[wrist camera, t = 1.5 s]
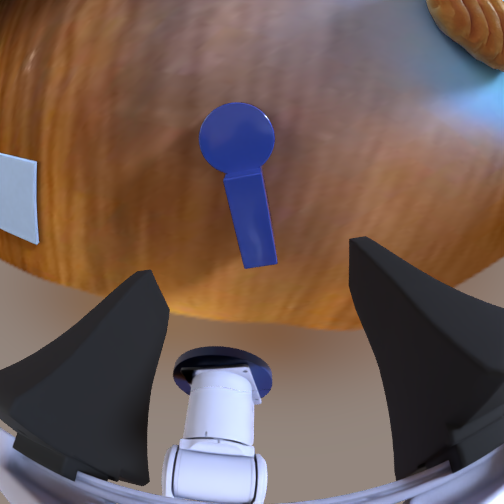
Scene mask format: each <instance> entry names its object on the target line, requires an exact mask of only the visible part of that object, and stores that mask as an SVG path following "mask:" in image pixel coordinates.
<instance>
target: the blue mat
mask: <svg viewBox="0 0 504 504" xmlns="http://www.w3.org/2000/svg"><path fill="white" fill-rule="evenodd" d="M36 172H37V162H36V161H32V160H28V159H24V158H19V157H15V156H11V155H6V154H2V153H0V229H2V230H4V231H7V232H9V233H11V234H13V235H15V236H18V237H20V238H22V239H24V240H27V241H29V242H31V243H34V244H36V245H37V244H38V243H39V236H38V224H37V203H36Z"/></svg>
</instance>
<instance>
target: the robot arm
mask: <svg viewBox="0 0 504 504" xmlns="http://www.w3.org/2000/svg"><path fill="white" fill-rule="evenodd" d="M349 288H350V292H351V295H352V299H353V302H354V305H355V309H356V311H357V314H358V316H359V318H360V321H361V323H362V326H363V328H364V330H365V333H366V335H367V338H368V340H369V342H370V345H371V347H372V350H373V352H374V355H375V357H376V360H377V363H378V366H379V369H380V374H381V378H382V381H383V386H384V391H385V395H386V400H387V406H388V411H389V417H390V423H391V431H392V439H393V451H394V469H395V476H396V481H395V482H392V483H389V484H385V485H382V486H379V487H375V488H372V489H368V490H364V491H360V492H355V493H351V494H346V495H341V496H336V497H330V498H324V499H318V500H310V501H302V502H291V503H278V504H395V503H398V502H401V501H404V500H405V502H404V503H403V504H504V308H501V307H498V306H495V305H492V304H490V303H486V302H484V301H482V300H479V299H477V298H474V297H472V296H469V295H467V294H465V293H462V292H460V291H458V290H456V289H454V288H452V287H450V286H448V285H446V284H444V283H442V282H440V281H438V280H436V279H434V278H433V277H431V276H429V275H427V274H426V273H424V272H422V271H421V270H419V269H417V268H416V267H414V266H412V265H411V264H409V263H407V262H406V261H404V260H403V259H401V258H400V257H398V256H396V255H395V254H393V253H392V252H390V251H389V250H387V249H386V248H384V247H383V246H381V245H379V244H378V243H376V242H375V241H373V240H371V239H370V238H368V237H366V236H365V237H358V238H352V239H349ZM169 311H170V309H169V307H168V305H167V303H166V301H165V299H164V297H163V295H162V293H161V291H160V289H159V286H158V284H157V282H156V280H155V278H154V276H153V273H152V271H151V270H144V271H137V272H136V273H134V274H133V275H132V276H130V277H129V278H128V279H126V280H125V281H124V282H123V283H122V284H121V285H119V286H118V287H117V288H116V289H115V290H114V291H113V292H111V293H110V294H109V295H108V296H107V297H106V298H105V299H104V300H103V301H102V302H101V303H99V304H98V305H97V306H96V307H95V308H94V309H92V310H91V311H90V312H89V313H88V314H87V315H86V316H84V317H83V318H82V319H81V320H80V321H79V322H78V323H76V324H75V325H74V326H73V327H71V328H70V329H69V330H68V331H66V332H65V333H63V334H62V335H61V336H60V337H58V338H57V339H55V340H54V341H52V342H51V343H49V344H48V345H46V346H45V347H43V348H42V349H40V350H39V351H37V352H36V353H34V354H32V355H30V356H28V357H27V358H25V359H23V360H21V361H19V362H17V363H15V364H13V365H11V366H9V367H6V368H4V369H2V370H0V419H1V420H2V421H3V422H4V423H6V424H7V425H8V426H10V427H11V428H12V429H13V430H15V431H16V432H18V433H17V436H16V438H15V437H14V436H12V435H11V434H10V433H8V432H6V431H5V430H3V429H2V428H0V491H1V492H2V493H3V494H4V496H5V497H6V498H7V500H8V501H9V502H10V504H116V503H118V504H225V503H226V504H263V502H264V498H265V495H266V489H267V466H266V462H265V460H264V459H263V458H262V457H261V455H260V454H254V447H253V446H252V444H253V441H254V405H255V404H261V398H260V395H259V393H258V390H257V387H256V384H255V382H254V379H253V376H252V373H251V371H250V368H249V366H248V365H247V364H239V365H226V366H209V367H183V368H181V370H180V372H181V373H182V375H183V376H184V378H185V379H186V381H187V382H188V384H189V385H190V386H191V391H190V397H189V403H188V410H187V415H186V422H185V428H184V435H183V439H180V444H179V445H173V446H172V447H170V448H169V449H168V450H167V451H166V455H165V458H164V463H163V470H162V490H163V491H162V496H161V495H156V494H151V493H146V492H142V491H138V490H134V489H131V488H127V487H123V486H120V485H116V484H113V483H110V482H107V480H108V479H110V480H113V481H116V482H117V481H118V480H120V481H124V482H128V483H132V484H136V485H140V486H144V485H146V484H147V483H149V482H150V480H149V471H148V460H147V426H148V412H149V403H150V395H151V389H152V383H153V379H154V376H155V372H156V368H157V365H158V361H159V358H160V354H161V350H162V347H163V343H164V340H165V336H166V332H167V326H168V319H169ZM183 498H184V499H190V500H184V499H183ZM191 500H197V501H191ZM200 501H205V502H200ZM211 502H214V503H211Z"/></svg>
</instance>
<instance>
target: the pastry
mask: <svg viewBox="0 0 504 504" xmlns="http://www.w3.org/2000/svg"><path fill="white" fill-rule="evenodd" d="M426 3H427V6H428V9H429V12H430V14H431V16H432V17H433V19H434V21H435V23H436V24H437V26H438V28H439V29H440V30H441V31H442V32H443V33H444V34H445V35H446V36H448V37H450V38H451V39H452V40H453V41H454V42H456V43H458V44H459V45H461V46H462V47H463V48H464V49H466V51H467V52H468V53H469V54H470V55H471V56H472V57H474V58H475V59H476V60H478V61H481V62H483V63H485V64H486V65H488V66H489V67H491V68H493V69H498V70H500V71H502V72H504V1H502V0H426Z"/></svg>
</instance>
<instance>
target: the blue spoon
mask: <svg viewBox="0 0 504 504" xmlns="http://www.w3.org/2000/svg"><path fill="white" fill-rule="evenodd" d="M274 142H275V135H274V130H273V127H272V124H271V122H270V120H269V119H268V117H267V116H266V115H265V114H264V113H263V112H262V111H261V110H260V109H259V108H257V107H255V106H253V105H251V104H248V103H242V102H235V103H228V104H224V105H222V106H219V107H218V108H216V109H214V110H213V111H212V112H211V113H210V114H209V115H208V116H207V117H206V118H205V120H204V121H203V123H202V125H201V128H200V132H199V146H200V149H201V152H202V154H203V156H204V158H205V159H206V161H207V162H208V163H209V164H210V165H211V166H212V167H214V168H215V169H217V170H219V171H221V172H223V173H226V174H225V177H224V179H223V183H224V187H225V191H226V195H227V199H228V204H229V208H230V212H231V216H232V220H233V224H234V228H235V233H236V237H237V241H238V245H239V249H240V253H241V257H242V261H243V265H244V268H245V269H247V268H254V267H261V266H267V265H274V264H277V263H278V262H277V254H276V245H275V237H274V231H273V225H272V220H271V214H270V208H269V202H268V197H267V191H266V186H265V180H264V175H263V169H262V165H263V164H264V163H265V162H266V161H267V160H268V158H269V157H270V155H271V153H272V151H273V148H274Z"/></svg>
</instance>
